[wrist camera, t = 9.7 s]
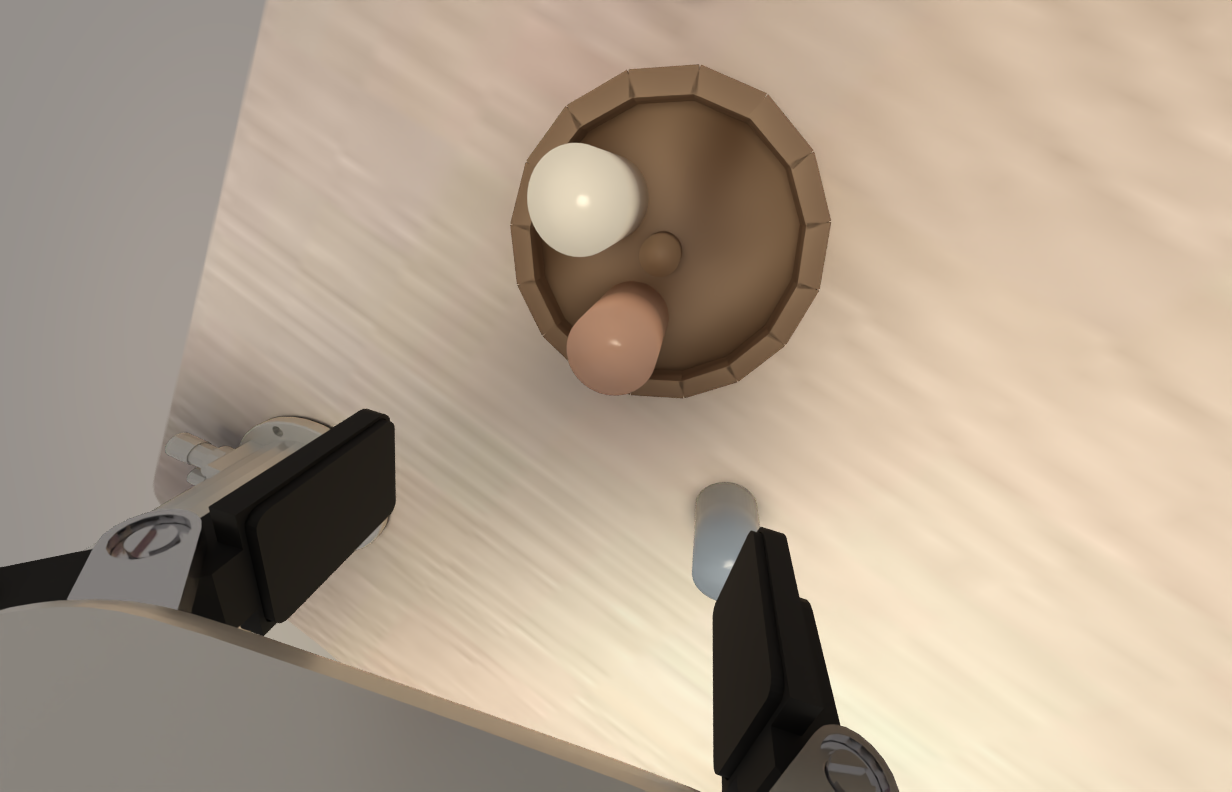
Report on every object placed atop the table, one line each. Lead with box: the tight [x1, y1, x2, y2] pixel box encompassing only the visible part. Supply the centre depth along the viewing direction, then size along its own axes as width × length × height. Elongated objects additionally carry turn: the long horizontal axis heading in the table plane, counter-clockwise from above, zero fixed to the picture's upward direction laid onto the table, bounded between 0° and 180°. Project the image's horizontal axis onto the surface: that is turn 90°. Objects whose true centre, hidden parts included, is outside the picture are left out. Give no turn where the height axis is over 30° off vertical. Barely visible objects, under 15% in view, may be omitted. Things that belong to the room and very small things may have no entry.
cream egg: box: [527, 143, 649, 257], centre depth 20 cm, size 4×4×6 cm
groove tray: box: [510, 64, 831, 398], centre depth 23 cm, size 15×15×2 cm
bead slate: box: [692, 482, 760, 601], centre depth 27 cm, size 4×4×6 cm
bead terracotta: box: [567, 281, 669, 395], centre depth 22 cm, size 4×4×6 cm
